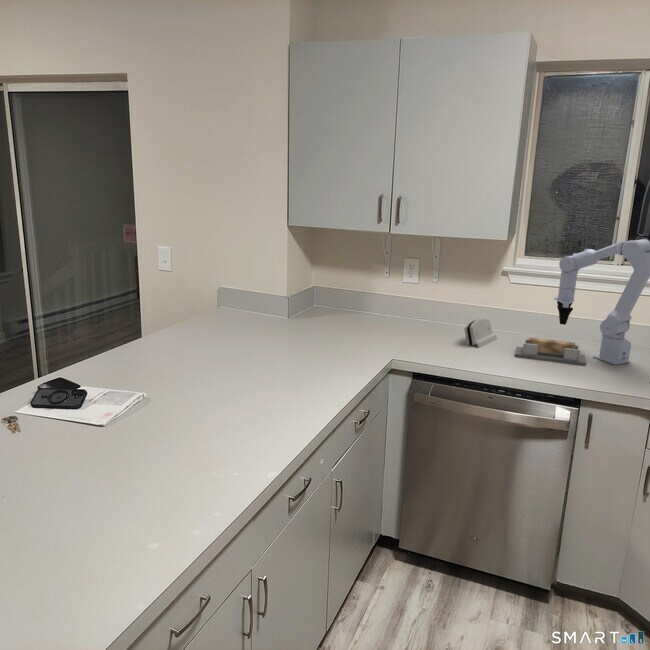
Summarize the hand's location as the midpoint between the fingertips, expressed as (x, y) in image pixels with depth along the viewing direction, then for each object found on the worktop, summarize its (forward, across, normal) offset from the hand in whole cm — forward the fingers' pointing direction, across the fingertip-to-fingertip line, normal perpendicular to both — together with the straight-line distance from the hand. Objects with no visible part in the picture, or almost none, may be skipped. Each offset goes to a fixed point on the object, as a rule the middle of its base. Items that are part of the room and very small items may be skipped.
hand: (562, 321), depth 227 cm
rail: (+7, +18, -4) cm, 20 cm away
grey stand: (+10, +8, -30) cm, 33 cm away
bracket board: (+9, +18, -4) cm, 20 cm away
